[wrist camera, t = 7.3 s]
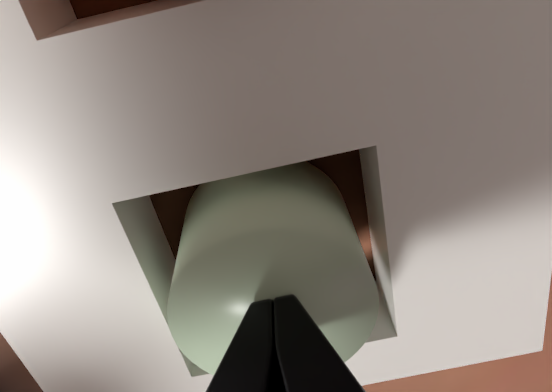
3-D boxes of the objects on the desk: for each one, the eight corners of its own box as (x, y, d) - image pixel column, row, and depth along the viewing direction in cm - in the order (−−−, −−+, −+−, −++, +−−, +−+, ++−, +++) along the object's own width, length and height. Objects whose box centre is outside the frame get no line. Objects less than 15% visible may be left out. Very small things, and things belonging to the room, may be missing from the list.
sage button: (335, 137, 10) (366, 206, 8) (356, 273, 12) (387, 365, 10) (161, 175, 10) (134, 255, 8) (210, 303, 12) (202, 401, 10)
